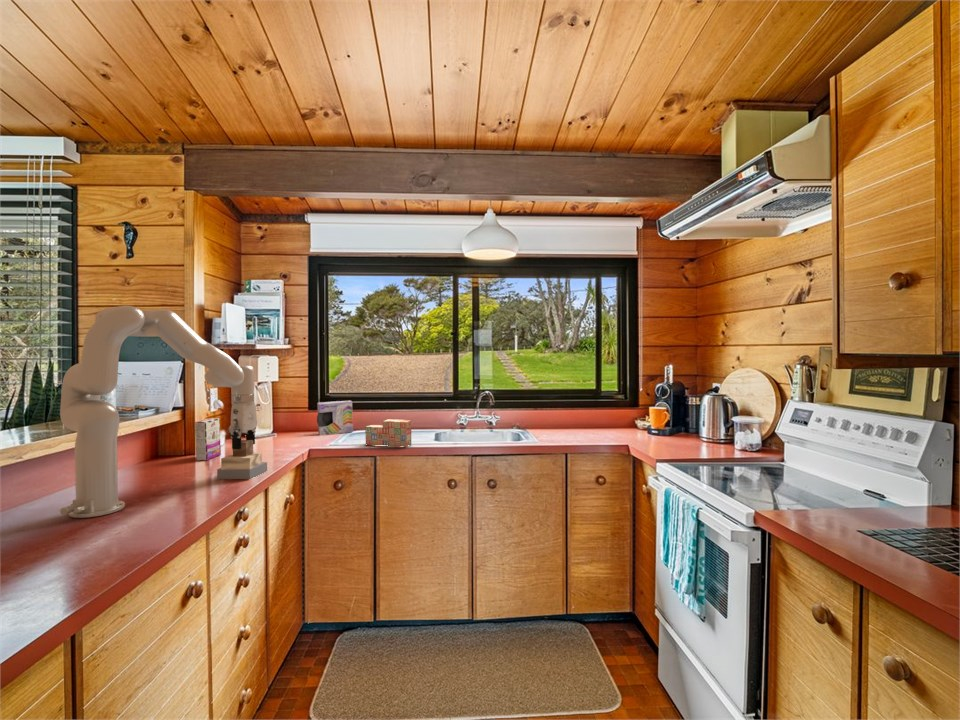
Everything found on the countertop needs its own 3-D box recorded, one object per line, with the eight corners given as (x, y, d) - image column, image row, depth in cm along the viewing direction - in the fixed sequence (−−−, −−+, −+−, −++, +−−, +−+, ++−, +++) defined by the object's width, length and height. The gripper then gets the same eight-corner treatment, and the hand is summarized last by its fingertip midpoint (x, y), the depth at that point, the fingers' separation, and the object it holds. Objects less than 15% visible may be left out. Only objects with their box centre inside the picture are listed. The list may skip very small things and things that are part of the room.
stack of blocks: (365, 446, 233) (364, 420, 233) (371, 443, 240) (371, 418, 239) (406, 447, 228) (406, 421, 228) (411, 445, 234) (411, 419, 234)
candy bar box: (209, 455, 215) (209, 418, 214) (221, 455, 215) (220, 418, 214) (194, 461, 203) (194, 421, 203) (206, 461, 203) (206, 421, 203)
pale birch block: (249, 469, 173) (249, 458, 173) (221, 469, 173) (221, 458, 173) (261, 462, 183) (261, 452, 183) (234, 463, 183) (234, 452, 183)
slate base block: (249, 481, 172) (249, 469, 172) (217, 480, 173) (217, 469, 173) (267, 472, 184) (267, 462, 184) (236, 472, 185) (236, 461, 185)
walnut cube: (246, 456, 176) (246, 442, 176) (232, 456, 176) (232, 442, 176) (253, 453, 181) (253, 440, 181) (240, 453, 181) (239, 440, 181)
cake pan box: (317, 435, 263) (317, 403, 262) (316, 434, 267) (315, 402, 267) (353, 432, 272) (353, 401, 272) (351, 431, 276) (350, 400, 276)
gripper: (239, 401, 169) (240, 451, 170) (265, 397, 187) (265, 442, 187) (218, 401, 170) (219, 451, 170) (246, 397, 187) (246, 442, 188)
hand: (243, 446), depth 179 cm, fingers open, 8 cm apart
